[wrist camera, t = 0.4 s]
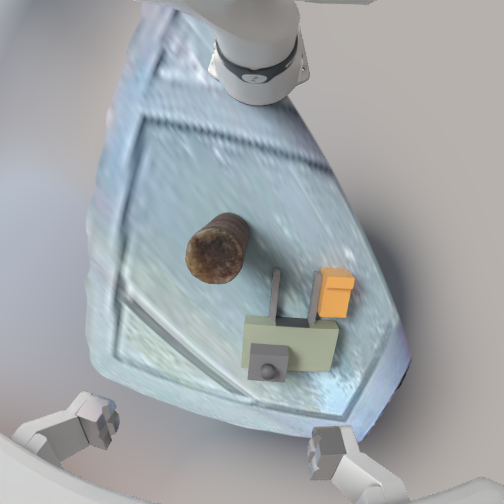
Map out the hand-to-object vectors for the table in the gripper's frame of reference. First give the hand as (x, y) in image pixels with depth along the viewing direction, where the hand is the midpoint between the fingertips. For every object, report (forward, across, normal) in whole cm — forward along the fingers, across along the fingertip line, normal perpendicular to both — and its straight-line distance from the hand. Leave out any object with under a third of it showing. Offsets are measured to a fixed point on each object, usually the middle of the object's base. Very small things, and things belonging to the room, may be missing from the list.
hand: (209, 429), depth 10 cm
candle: (+45, +4, -1) cm, 46 cm away
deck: (+45, -9, +15) cm, 48 cm away
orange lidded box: (+45, -16, +8) cm, 49 cm away
